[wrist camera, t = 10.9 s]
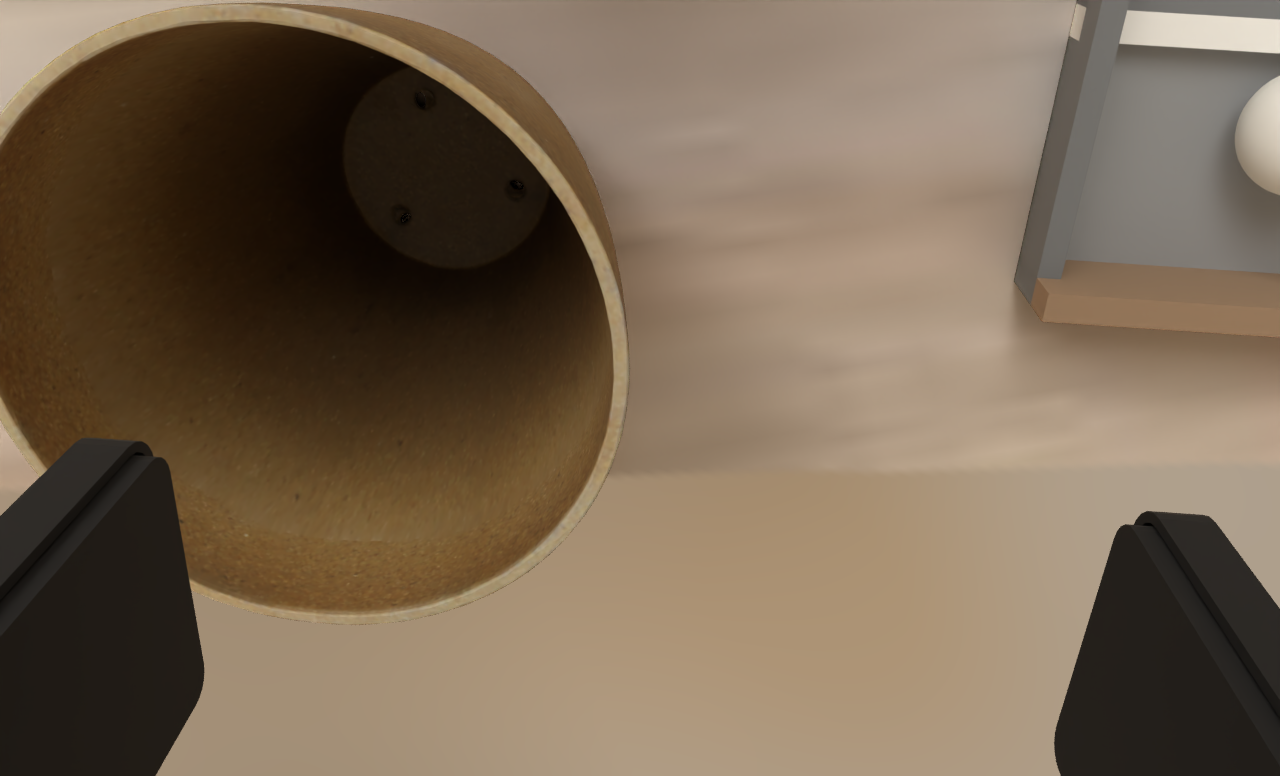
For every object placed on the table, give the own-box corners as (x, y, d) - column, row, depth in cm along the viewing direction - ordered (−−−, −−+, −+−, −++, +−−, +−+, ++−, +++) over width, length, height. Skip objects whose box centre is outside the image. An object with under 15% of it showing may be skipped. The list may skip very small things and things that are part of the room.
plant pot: (611, -109, 34) (548, -62, 20) (687, 324, 40) (680, 594, 26) (167, -22, 36) (-187, 78, 21) (308, 378, 42) (110, 658, 28)
